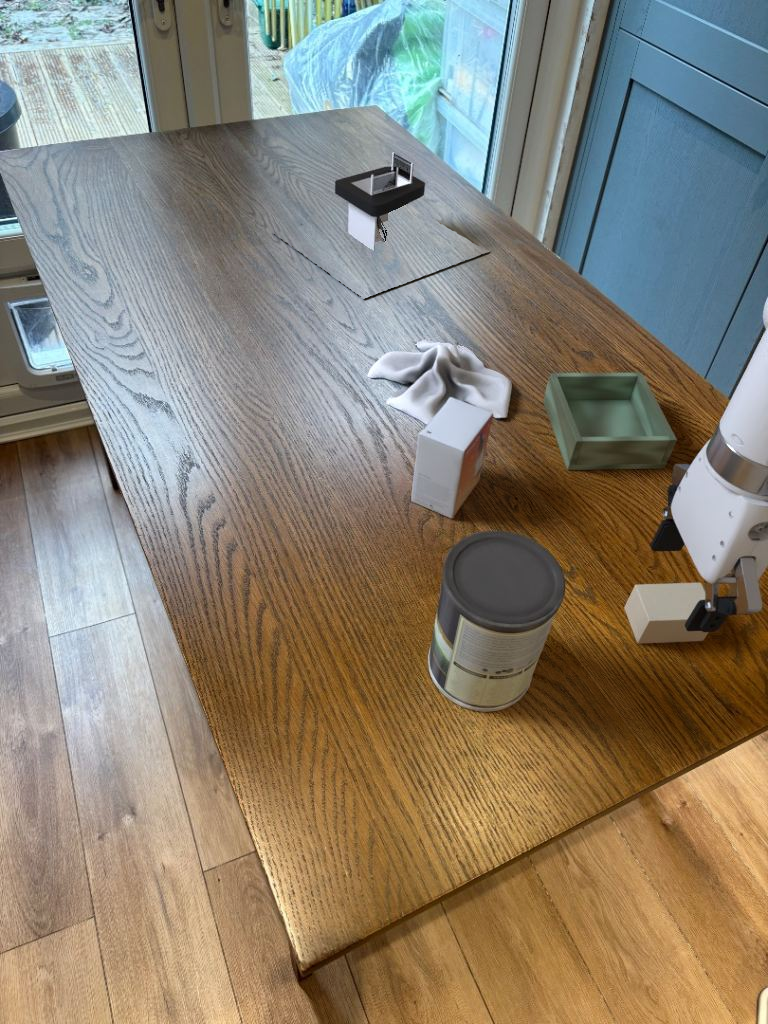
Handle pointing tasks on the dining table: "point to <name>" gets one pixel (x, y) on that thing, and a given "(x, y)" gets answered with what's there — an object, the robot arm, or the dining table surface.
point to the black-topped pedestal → (377, 198)
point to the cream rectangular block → (664, 612)
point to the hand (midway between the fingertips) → (682, 586)
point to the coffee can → (493, 618)
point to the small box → (450, 456)
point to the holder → (607, 421)
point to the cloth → (442, 380)
